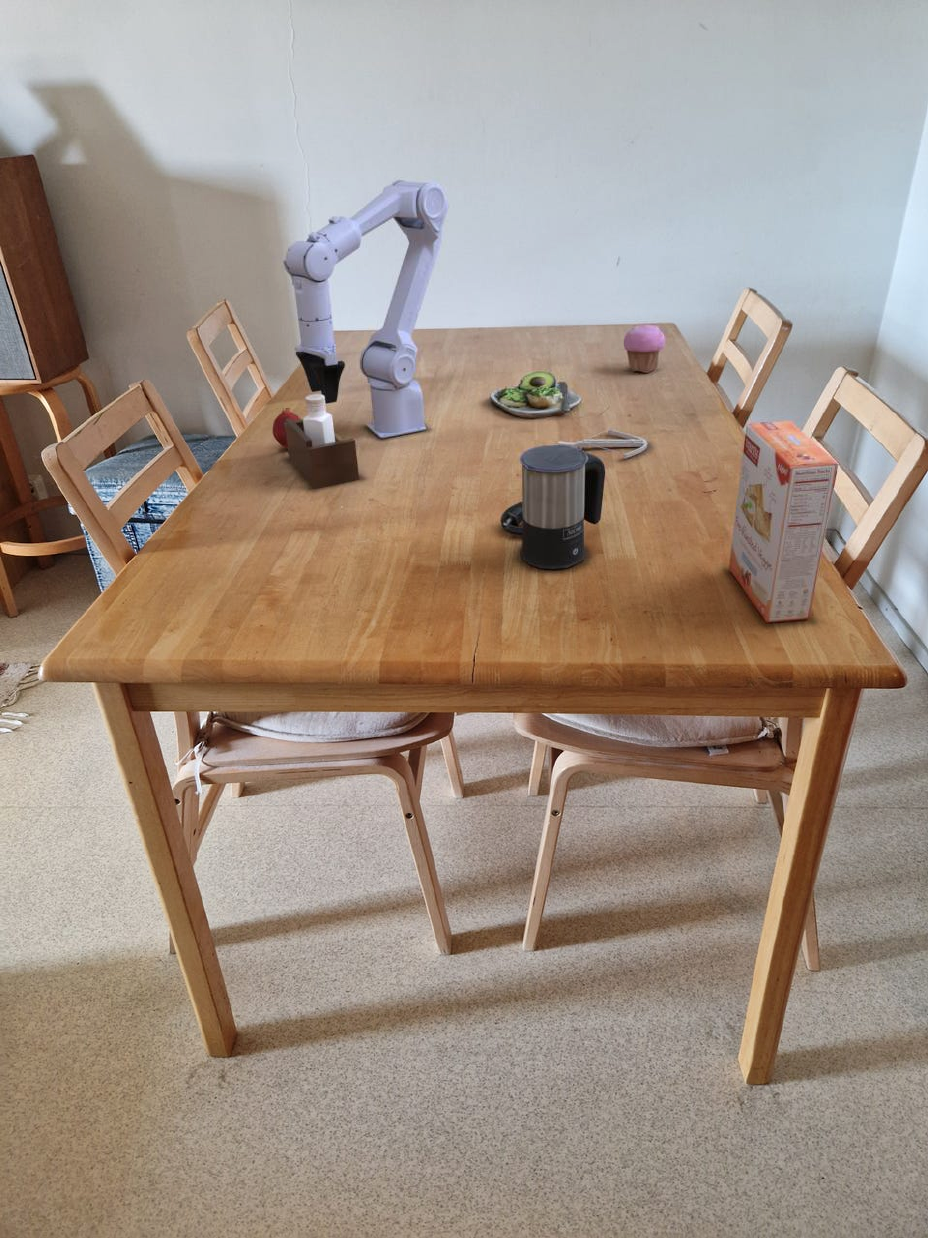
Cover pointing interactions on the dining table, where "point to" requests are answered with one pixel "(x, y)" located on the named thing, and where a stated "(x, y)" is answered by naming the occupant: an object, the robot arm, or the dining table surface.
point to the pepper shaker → (318, 421)
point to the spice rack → (321, 457)
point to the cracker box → (781, 519)
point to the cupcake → (644, 347)
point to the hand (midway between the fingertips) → (324, 396)
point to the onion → (283, 426)
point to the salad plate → (536, 397)
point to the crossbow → (612, 443)
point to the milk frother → (556, 504)
